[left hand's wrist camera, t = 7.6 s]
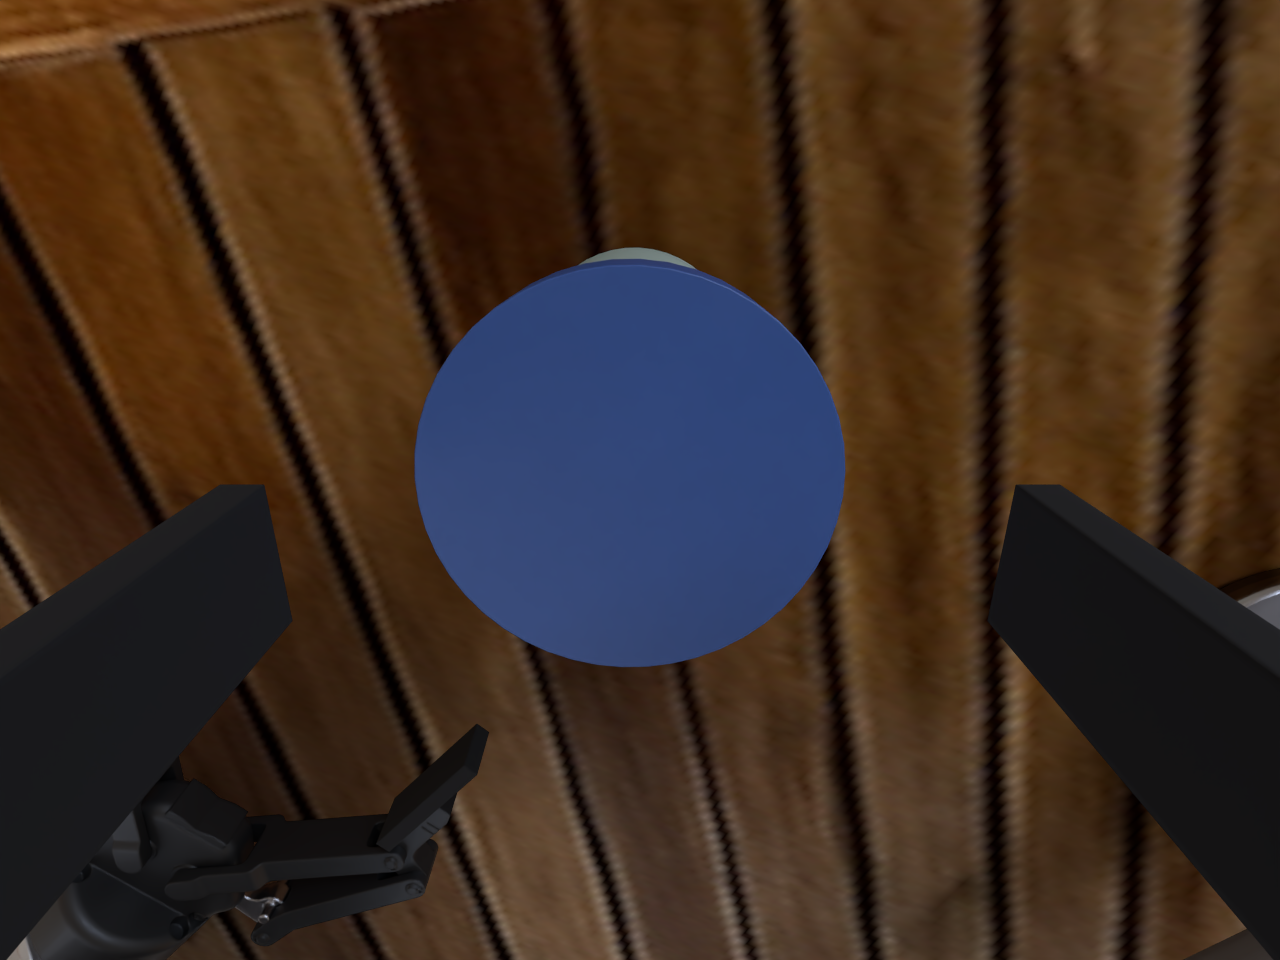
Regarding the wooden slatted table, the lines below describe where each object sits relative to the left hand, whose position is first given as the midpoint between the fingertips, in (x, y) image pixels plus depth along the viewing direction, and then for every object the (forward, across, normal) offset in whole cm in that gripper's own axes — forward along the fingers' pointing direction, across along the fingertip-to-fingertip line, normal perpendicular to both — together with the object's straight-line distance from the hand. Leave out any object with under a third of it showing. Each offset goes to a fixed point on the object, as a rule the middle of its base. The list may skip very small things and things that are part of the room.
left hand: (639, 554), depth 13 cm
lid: (+5, 0, 0) cm, 5 cm away
